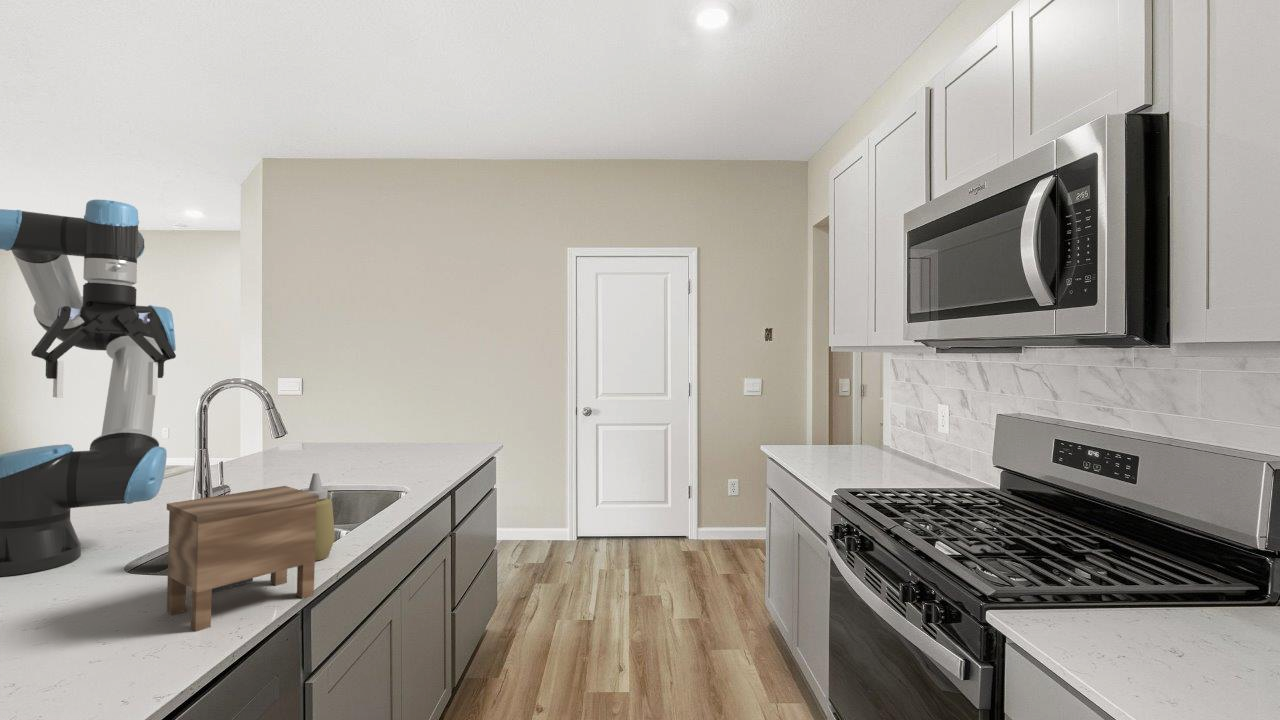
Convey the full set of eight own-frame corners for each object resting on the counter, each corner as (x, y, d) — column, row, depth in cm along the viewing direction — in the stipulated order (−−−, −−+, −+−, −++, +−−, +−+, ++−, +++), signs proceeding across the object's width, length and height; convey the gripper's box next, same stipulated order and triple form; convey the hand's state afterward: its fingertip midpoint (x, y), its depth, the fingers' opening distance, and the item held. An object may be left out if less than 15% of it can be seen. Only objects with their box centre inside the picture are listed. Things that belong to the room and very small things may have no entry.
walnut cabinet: (163, 611, 98) (166, 503, 98) (282, 579, 113) (285, 485, 113) (194, 632, 91) (197, 516, 91) (316, 594, 106) (318, 495, 106)
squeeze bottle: (316, 565, 121) (318, 478, 121) (282, 562, 123) (284, 475, 123) (343, 553, 129) (345, 471, 129) (311, 550, 130) (313, 469, 131)
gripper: (20, 273, 99) (17, 399, 99) (196, 290, 119) (193, 394, 119) (10, 276, 103) (7, 397, 103) (182, 292, 124) (179, 393, 124)
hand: (107, 396), depth 111 cm, fingers open, 13 cm apart
